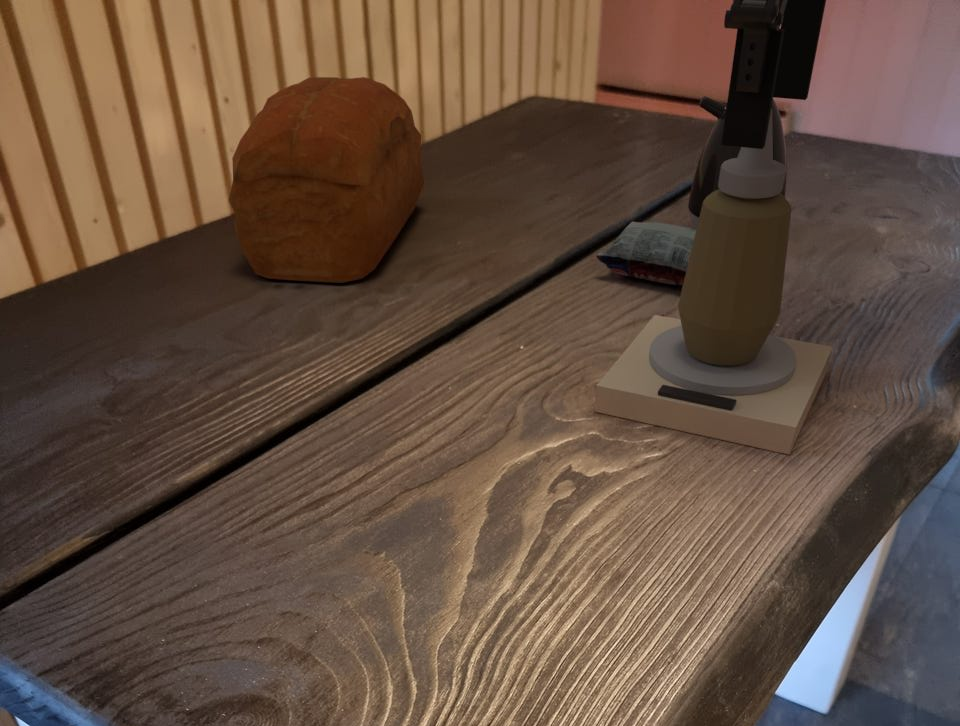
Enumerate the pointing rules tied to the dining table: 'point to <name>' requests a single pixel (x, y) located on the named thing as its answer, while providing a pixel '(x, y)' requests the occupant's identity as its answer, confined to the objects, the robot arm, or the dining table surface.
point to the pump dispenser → (725, 156)
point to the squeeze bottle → (737, 260)
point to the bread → (325, 179)
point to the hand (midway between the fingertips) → (767, 120)
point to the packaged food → (651, 252)
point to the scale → (715, 388)
